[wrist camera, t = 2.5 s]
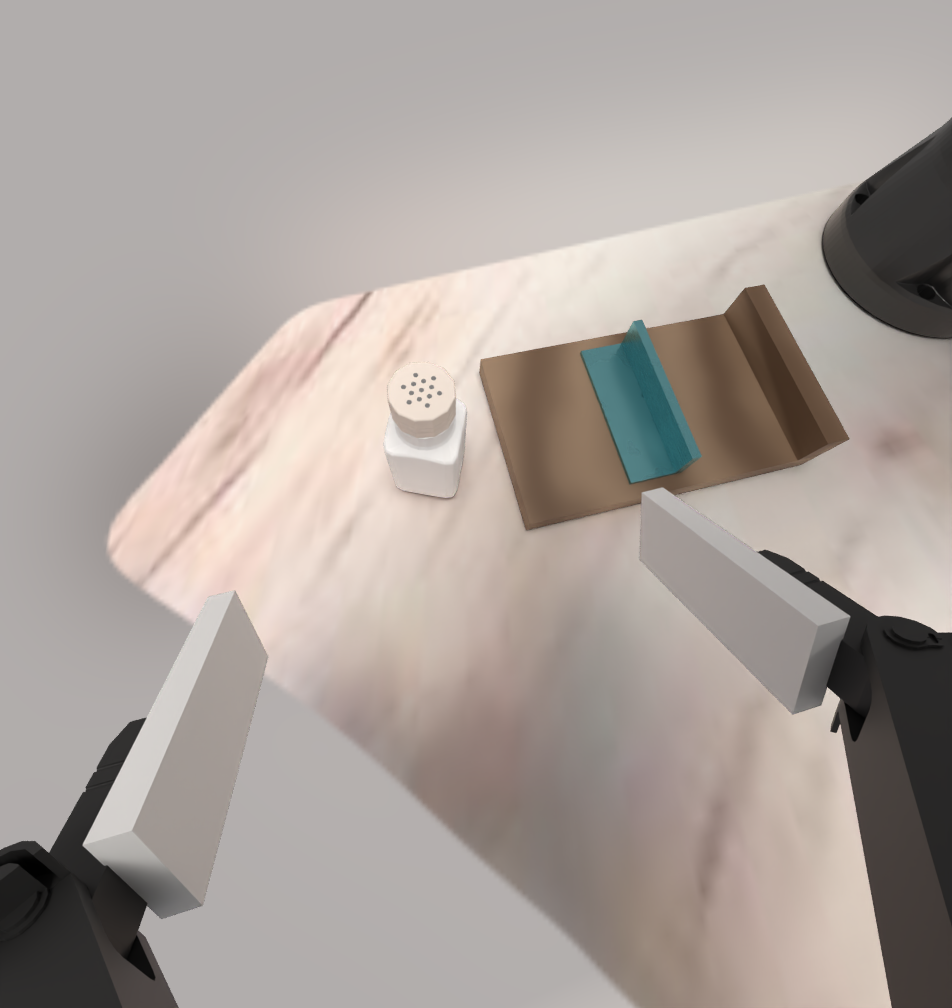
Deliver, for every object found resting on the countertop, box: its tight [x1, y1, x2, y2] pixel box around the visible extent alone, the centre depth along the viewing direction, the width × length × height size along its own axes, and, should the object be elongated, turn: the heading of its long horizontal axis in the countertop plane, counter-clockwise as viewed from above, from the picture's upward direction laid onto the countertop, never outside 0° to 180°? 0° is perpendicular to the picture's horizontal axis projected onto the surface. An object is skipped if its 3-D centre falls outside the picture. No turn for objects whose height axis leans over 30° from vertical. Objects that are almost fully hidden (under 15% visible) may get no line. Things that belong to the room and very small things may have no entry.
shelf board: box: [479, 285, 849, 530], centre depth 30 cm, size 20×12×4 cm, turn 104°
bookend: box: [580, 320, 702, 485], centre depth 29 cm, size 4×10×2 cm, turn 14°
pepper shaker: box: [383, 362, 467, 498], centre depth 25 cm, size 4×4×10 cm
